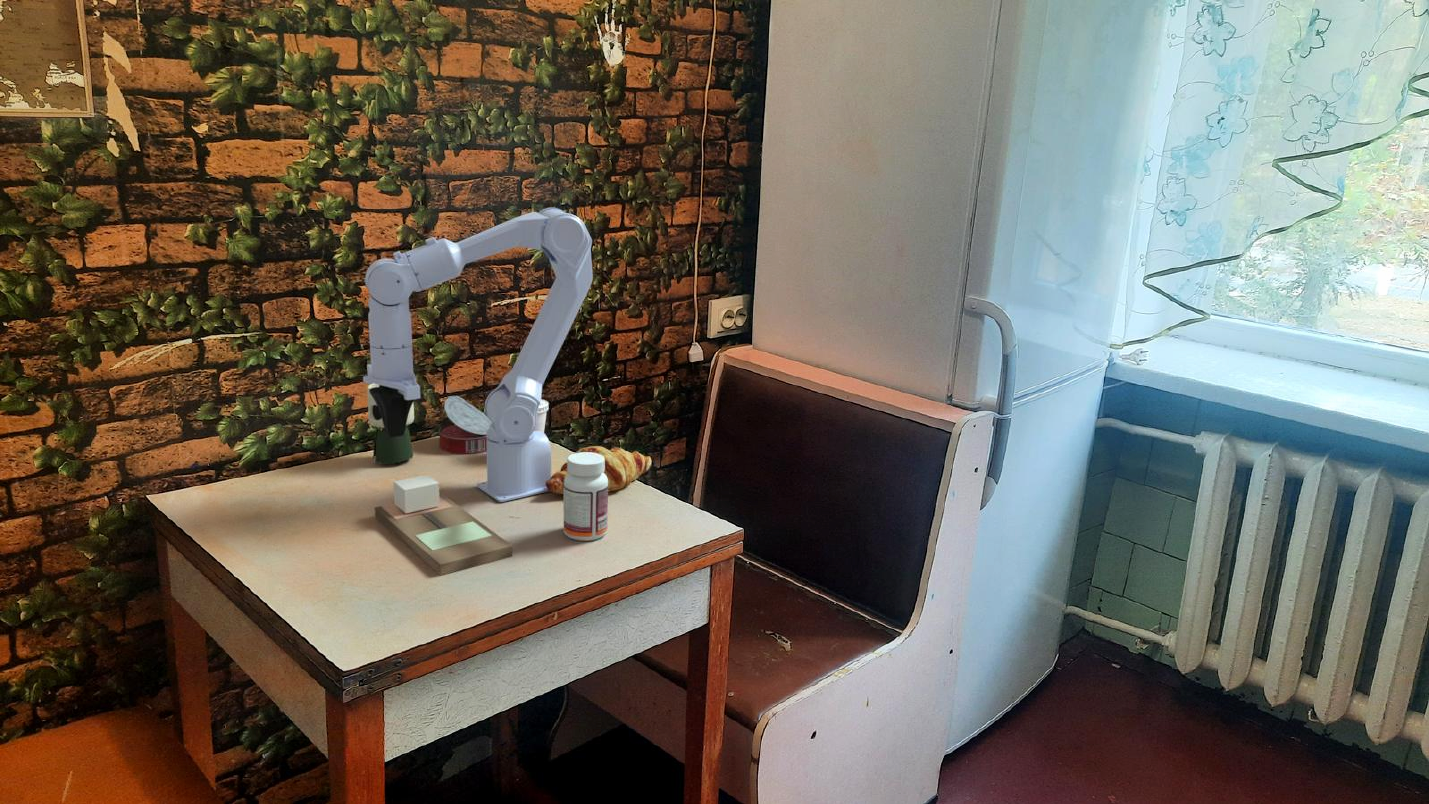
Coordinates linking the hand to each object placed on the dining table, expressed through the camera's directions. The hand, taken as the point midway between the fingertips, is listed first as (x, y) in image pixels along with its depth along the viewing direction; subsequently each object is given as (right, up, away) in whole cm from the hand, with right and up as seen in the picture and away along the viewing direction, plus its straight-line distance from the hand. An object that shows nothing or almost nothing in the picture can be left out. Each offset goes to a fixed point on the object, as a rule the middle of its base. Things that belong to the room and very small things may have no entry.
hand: (395, 435), depth 138 cm
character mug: (-7, -5, +19) cm, 21 cm away
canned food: (+3, -3, +29) cm, 29 cm away
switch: (+9, -14, -8) cm, 18 cm away
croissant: (+29, -9, +14) cm, 33 cm away
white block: (+4, -10, -3) cm, 11 cm away
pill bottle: (+28, -14, -5) cm, 32 cm away
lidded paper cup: (+15, -5, +24) cm, 29 cm away
